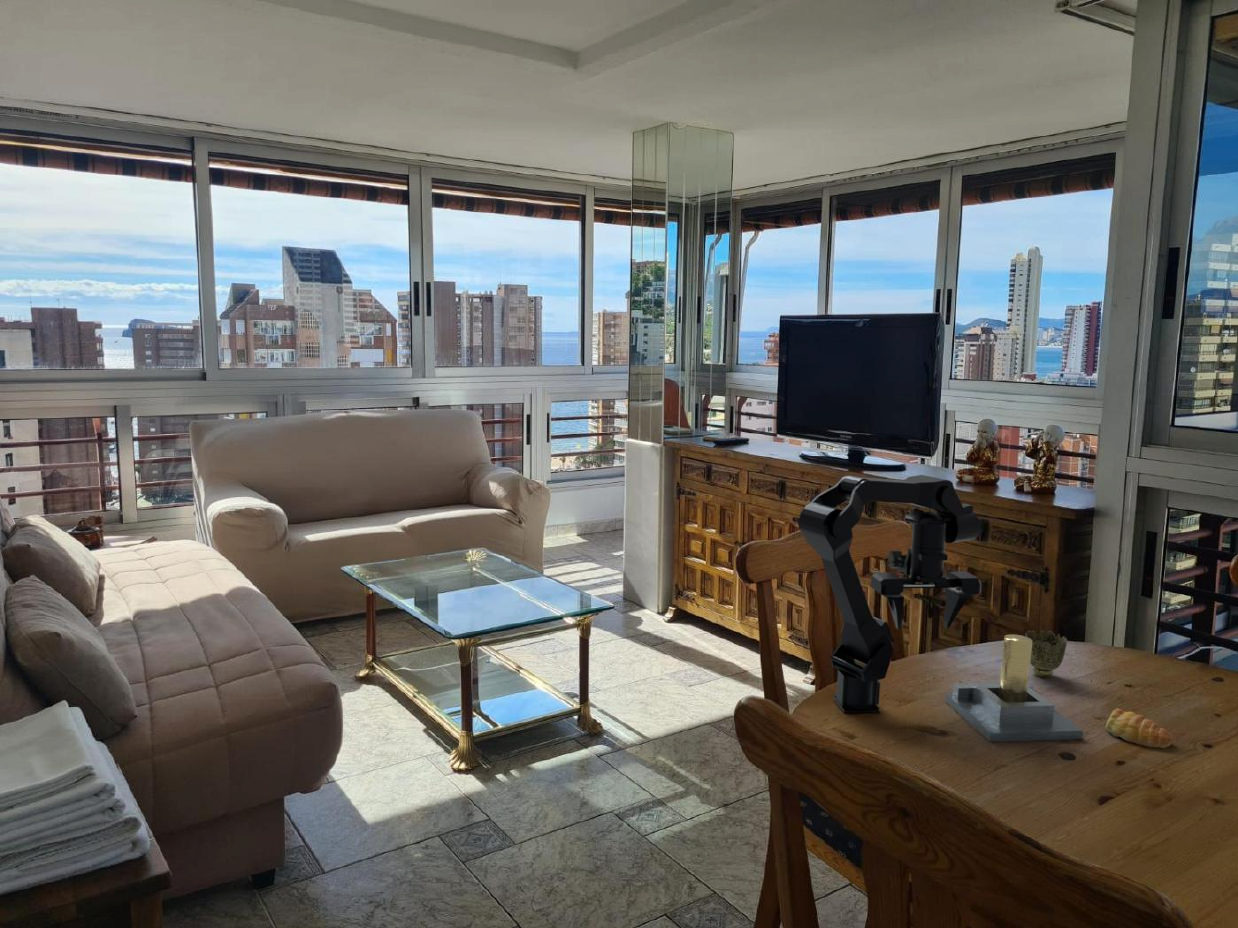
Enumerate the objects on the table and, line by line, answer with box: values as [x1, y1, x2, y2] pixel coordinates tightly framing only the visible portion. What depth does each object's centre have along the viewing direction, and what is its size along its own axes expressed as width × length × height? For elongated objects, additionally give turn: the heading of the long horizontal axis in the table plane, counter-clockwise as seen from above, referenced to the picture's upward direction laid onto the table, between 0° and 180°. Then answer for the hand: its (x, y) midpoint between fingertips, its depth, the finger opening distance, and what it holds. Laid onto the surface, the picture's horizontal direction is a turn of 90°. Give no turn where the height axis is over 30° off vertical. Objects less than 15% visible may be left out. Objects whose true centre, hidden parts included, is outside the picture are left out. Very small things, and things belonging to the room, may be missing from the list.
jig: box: [944, 682, 1084, 743], centre depth 156 cm, size 16×16×4 cm
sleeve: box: [998, 634, 1032, 703], centre depth 155 cm, size 4×4×13 cm
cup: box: [1024, 629, 1068, 679], centre depth 176 cm, size 8×7×8 cm
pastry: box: [1105, 707, 1174, 749], centre depth 150 cm, size 9×7×4 cm
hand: (922, 628), depth 166 cm, fingers open, 9 cm apart
